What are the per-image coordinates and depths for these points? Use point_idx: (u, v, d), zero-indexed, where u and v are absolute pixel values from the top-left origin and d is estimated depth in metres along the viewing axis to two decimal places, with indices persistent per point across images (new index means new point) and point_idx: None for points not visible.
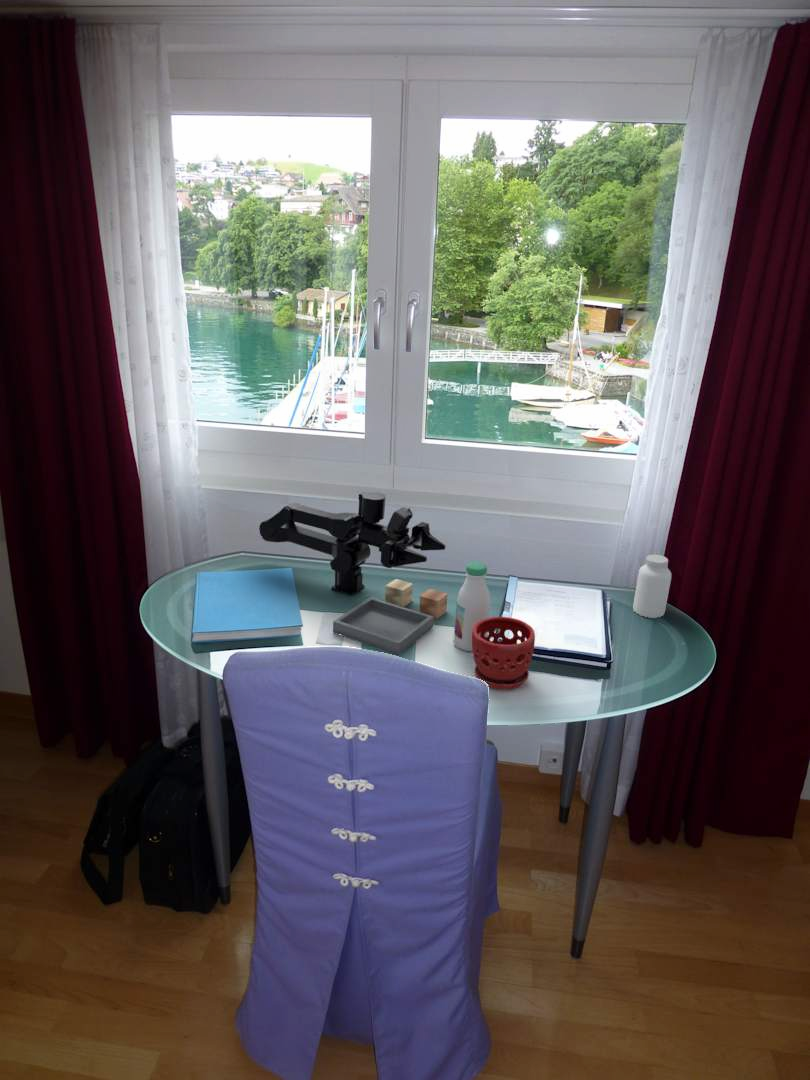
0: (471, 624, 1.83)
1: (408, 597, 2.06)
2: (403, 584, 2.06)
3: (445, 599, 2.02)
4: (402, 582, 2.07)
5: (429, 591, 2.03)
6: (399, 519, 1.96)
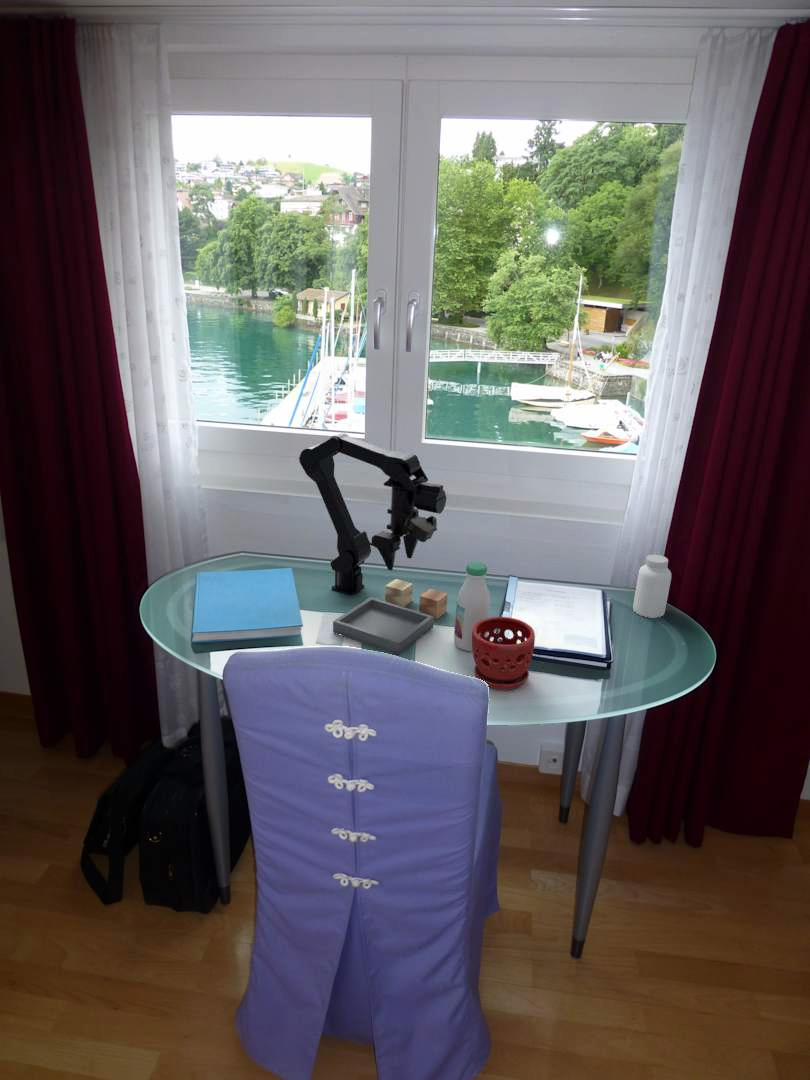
0: (471, 624, 1.83)
1: (408, 597, 2.06)
2: (404, 584, 2.06)
3: (445, 599, 2.02)
4: (402, 582, 2.07)
5: (429, 591, 2.03)
6: (421, 538, 1.95)
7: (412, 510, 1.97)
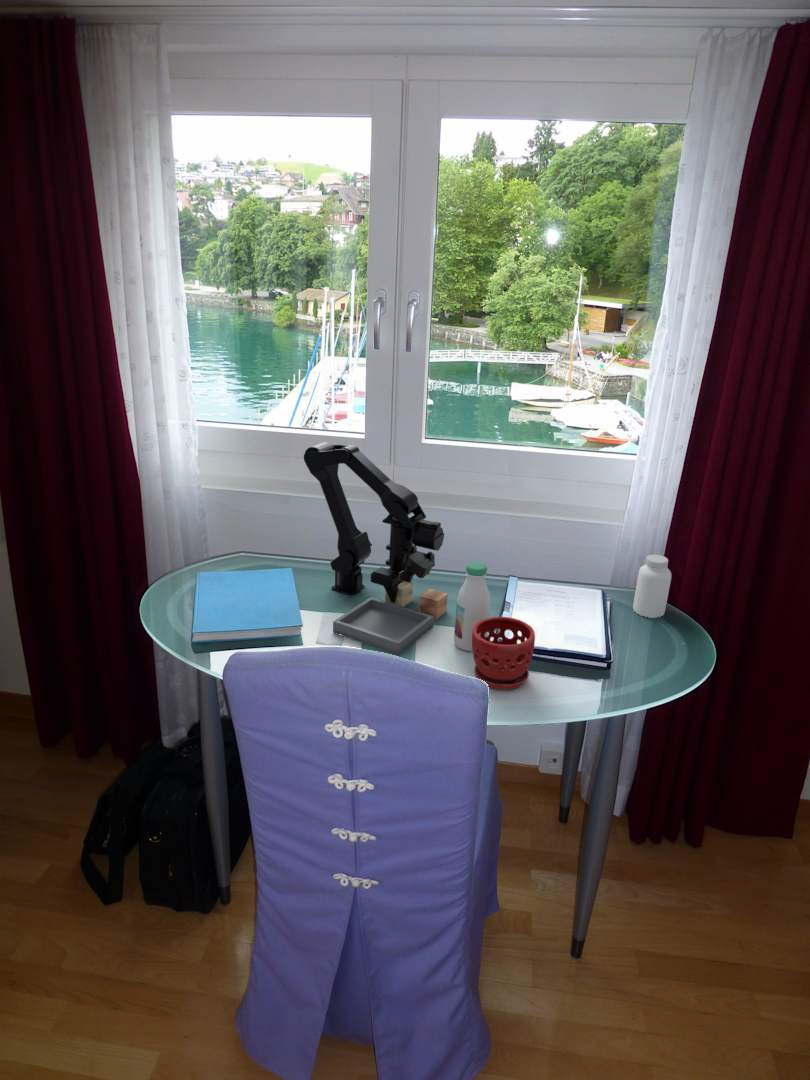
0: (471, 624, 1.83)
1: (408, 597, 2.06)
2: (404, 584, 2.06)
3: (445, 599, 2.02)
4: (402, 582, 2.07)
5: (429, 591, 2.03)
6: (419, 574, 1.99)
7: (410, 546, 2.00)
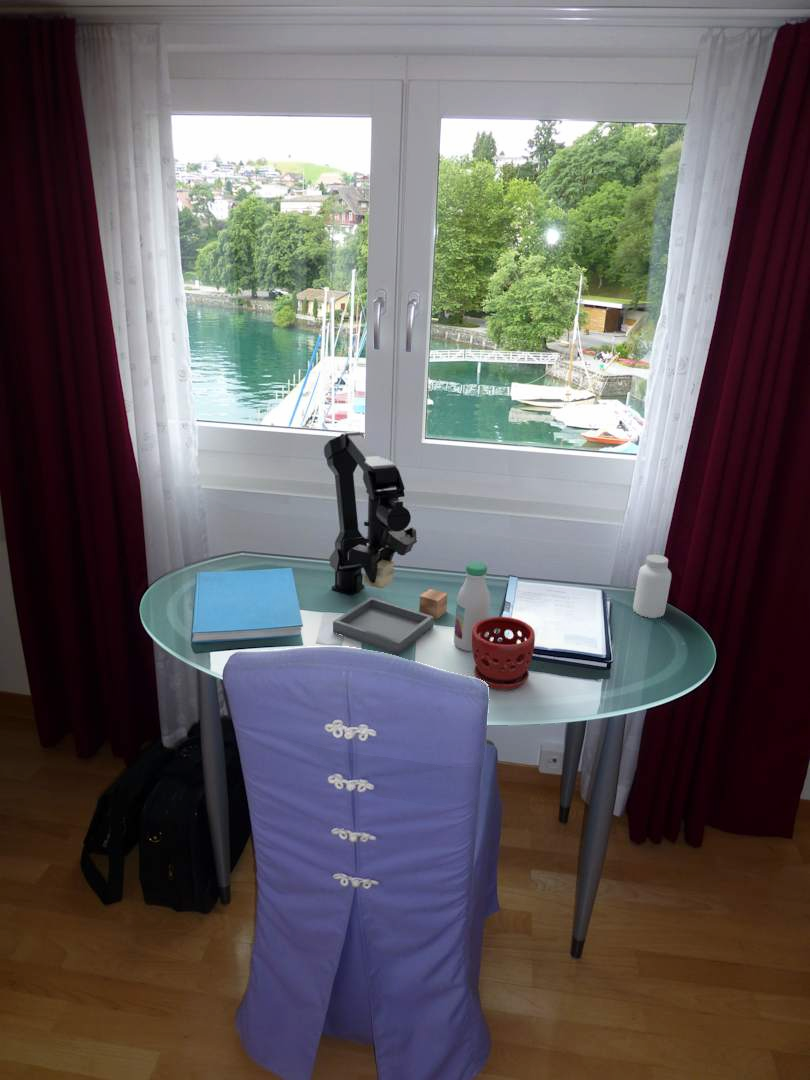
0: (471, 624, 1.83)
1: (389, 577, 1.93)
2: (384, 563, 1.92)
3: (445, 599, 2.02)
4: (382, 561, 1.93)
5: (429, 591, 2.03)
6: (400, 551, 1.85)
7: None
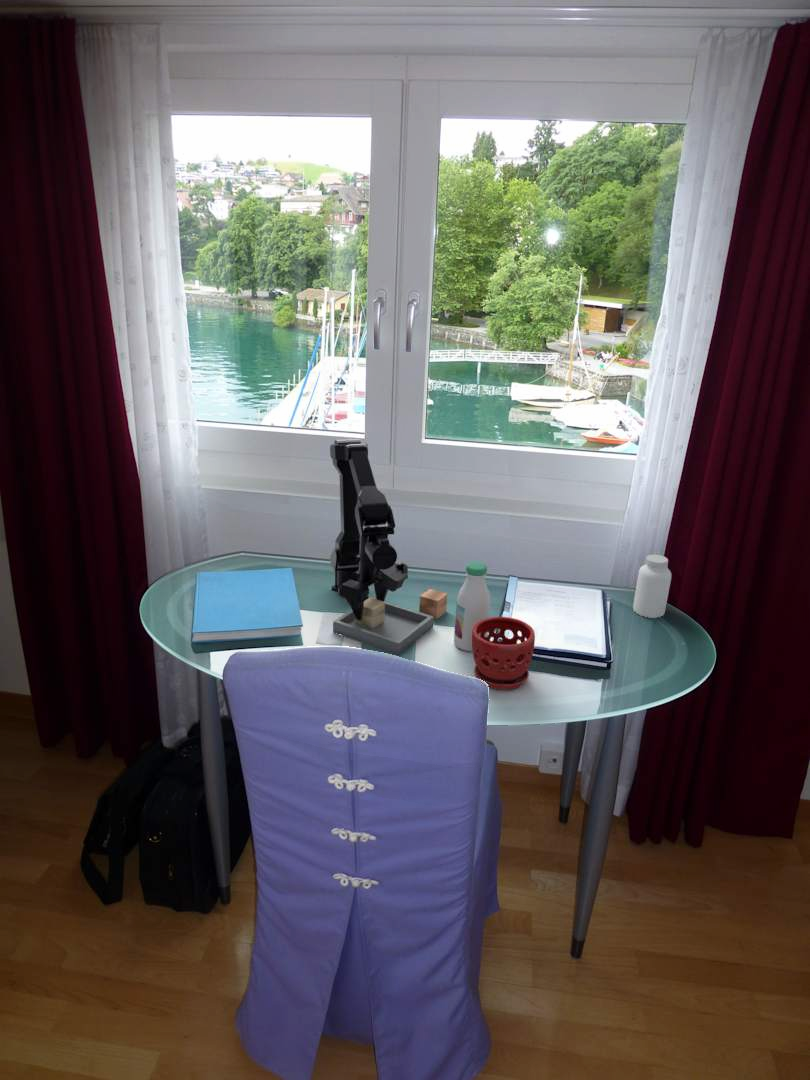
0: (471, 624, 1.83)
1: (380, 616, 1.94)
2: (375, 603, 1.93)
3: (445, 599, 2.02)
4: (374, 600, 1.94)
5: (429, 591, 2.03)
6: (391, 588, 1.85)
7: None
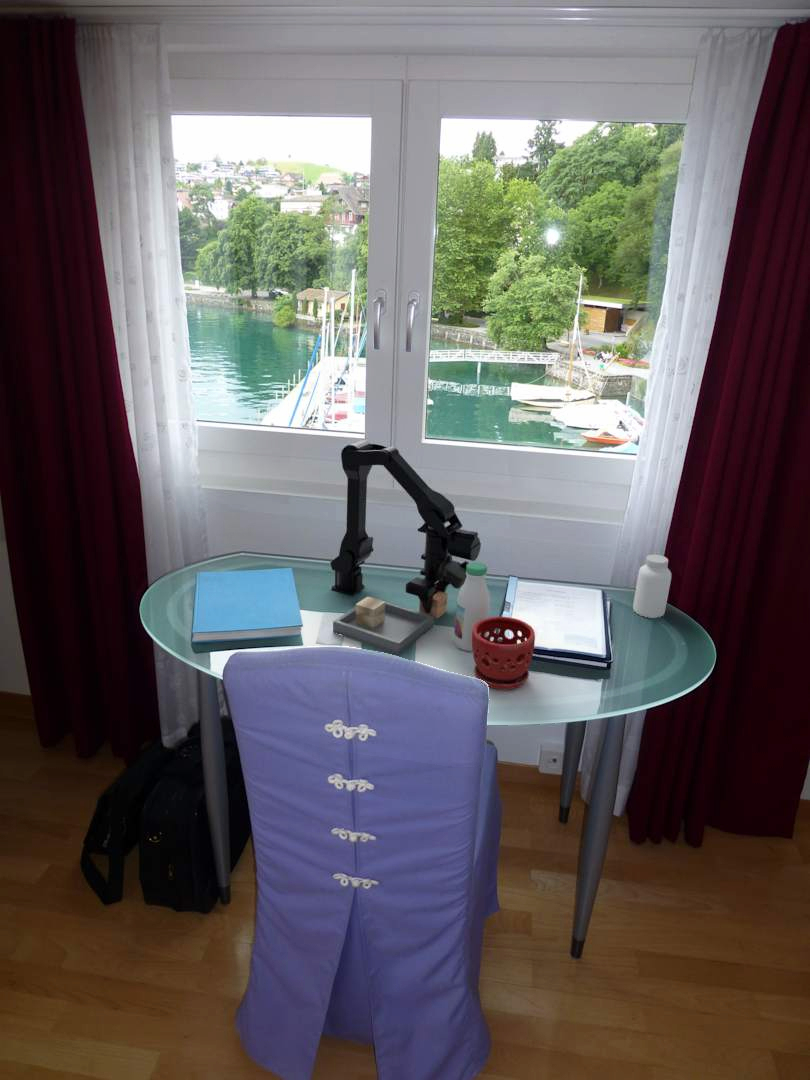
0: (471, 624, 1.83)
1: (380, 616, 1.94)
2: (375, 603, 1.93)
3: (445, 599, 2.02)
4: (374, 600, 1.94)
5: None
6: (456, 585, 1.94)
7: (446, 556, 1.96)
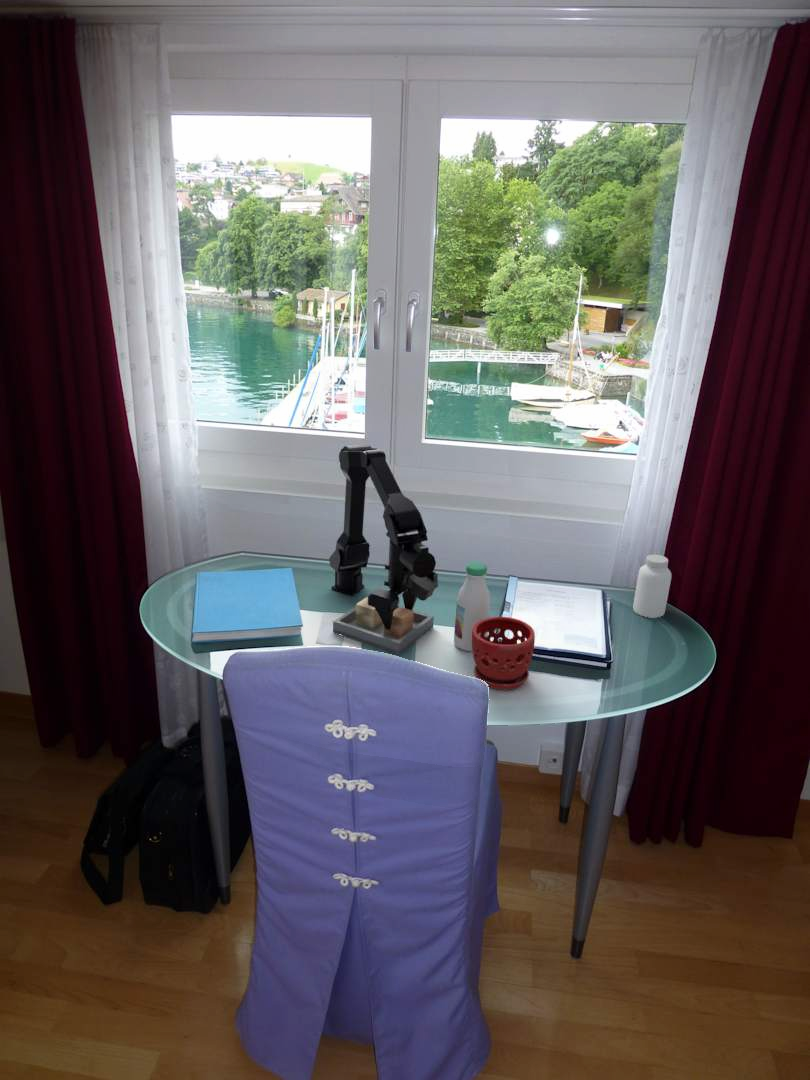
0: (471, 624, 1.83)
1: None
2: None
3: (411, 616, 1.90)
4: None
5: None
6: (421, 597, 1.82)
7: None
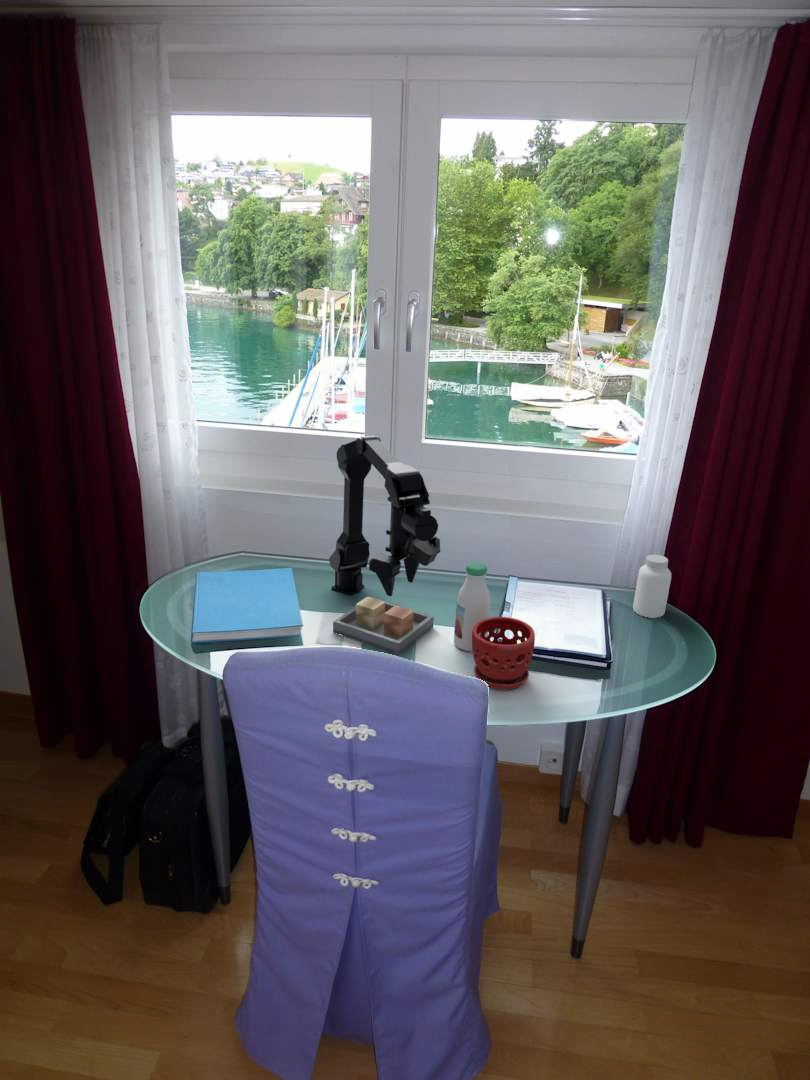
0: (471, 624, 1.83)
1: (380, 616, 1.94)
2: (375, 603, 1.93)
3: (411, 616, 1.90)
4: (374, 600, 1.94)
5: (394, 608, 1.91)
6: (423, 562, 1.78)
7: None
